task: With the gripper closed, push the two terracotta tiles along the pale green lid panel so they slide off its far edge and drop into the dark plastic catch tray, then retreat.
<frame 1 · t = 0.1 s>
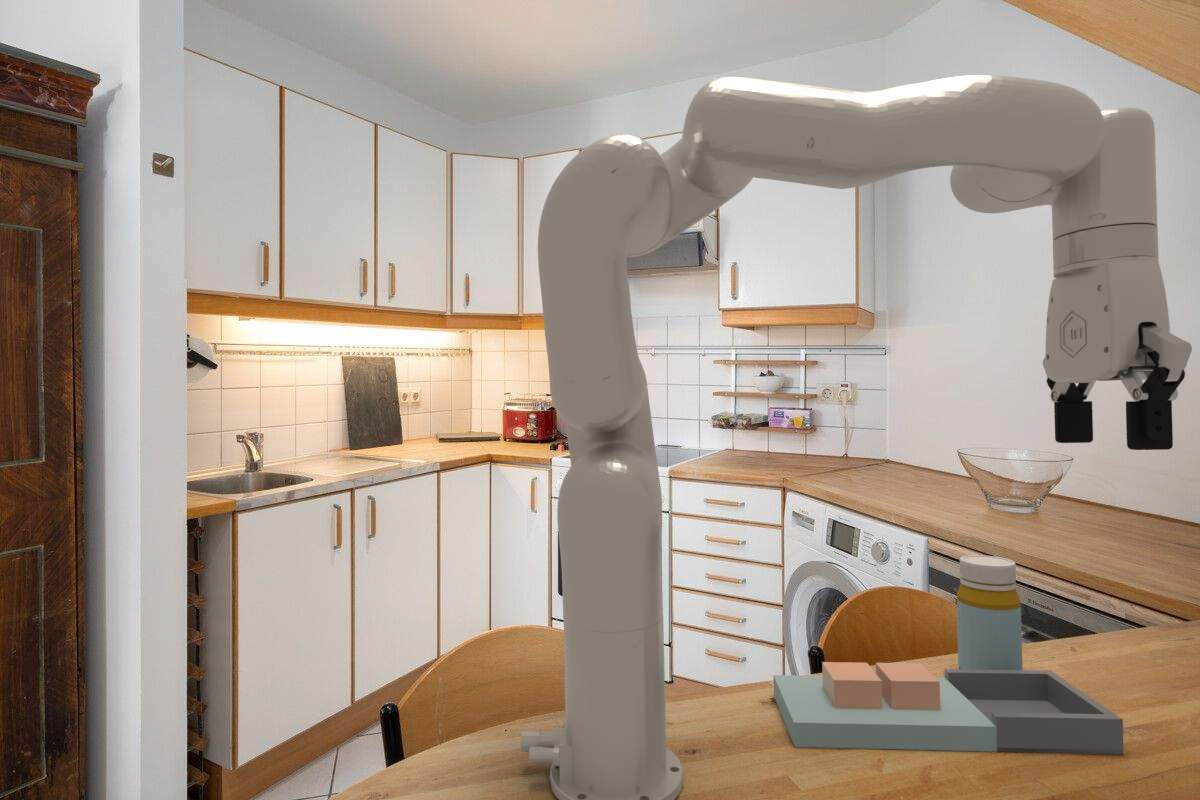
hand: (1108, 445, 59), 31 cm above the table, fingers open, 9 cm apart
tile a: (851, 698, 74), point 2 cm above the table, touching pale green lid panel
pale green lid panel: (875, 721, 73), on the table
bottle: (990, 680, 84), on the table
tile b: (907, 699, 73), point 2 cm above the table, touching pale green lid panel
tray: (1026, 724, 72), on the table
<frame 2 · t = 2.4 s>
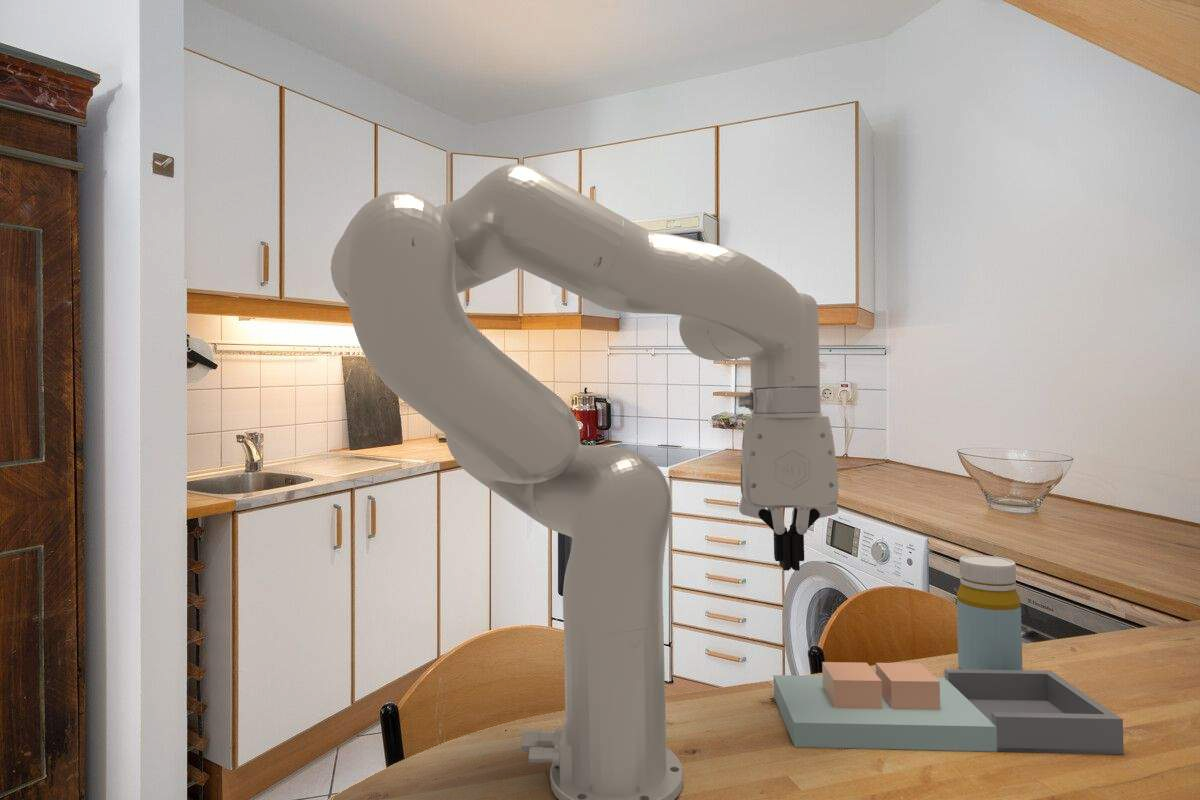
hand: (789, 567, 74), 17 cm above the table, fingers closed
nothing on the table moved.
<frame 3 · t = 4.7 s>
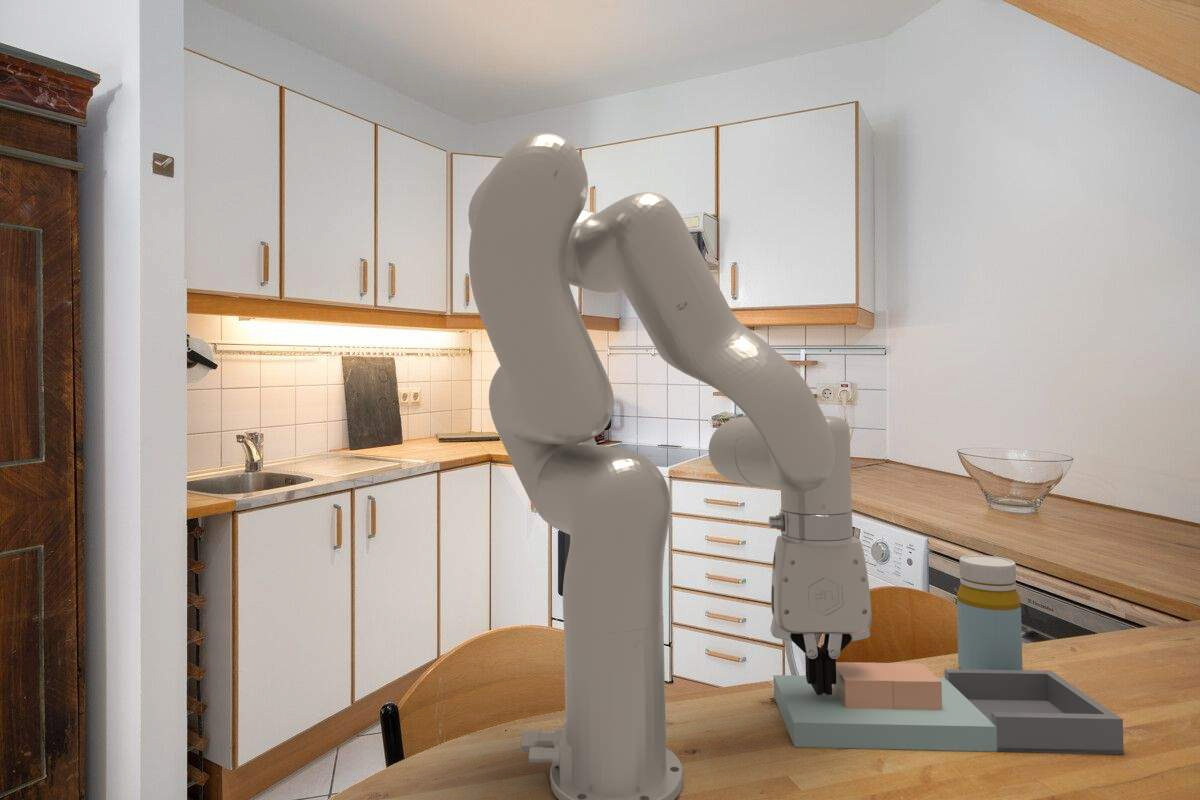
hand: (821, 689, 74), 3 cm above the table, fingers closed
tile a: (862, 698, 73), point 3 cm above the table, touching gripper
everything else where it was.
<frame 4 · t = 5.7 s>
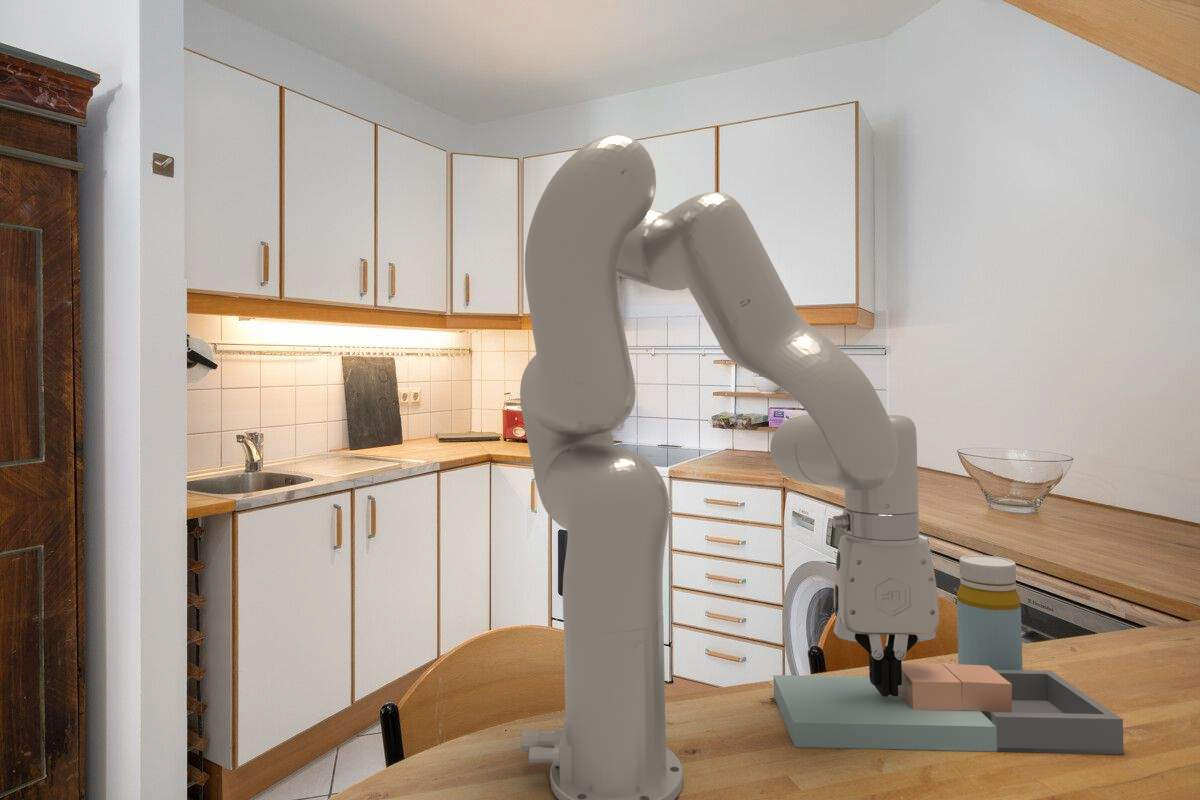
hand: (885, 690, 73), 3 cm above the table, fingers closed
tile a: (928, 699, 73), point 3 cm above the table, touching gripper, tile b
tile b: (975, 700, 72), point 2 cm above the table, touching pale green lid panel, tile a
everything else where it was.
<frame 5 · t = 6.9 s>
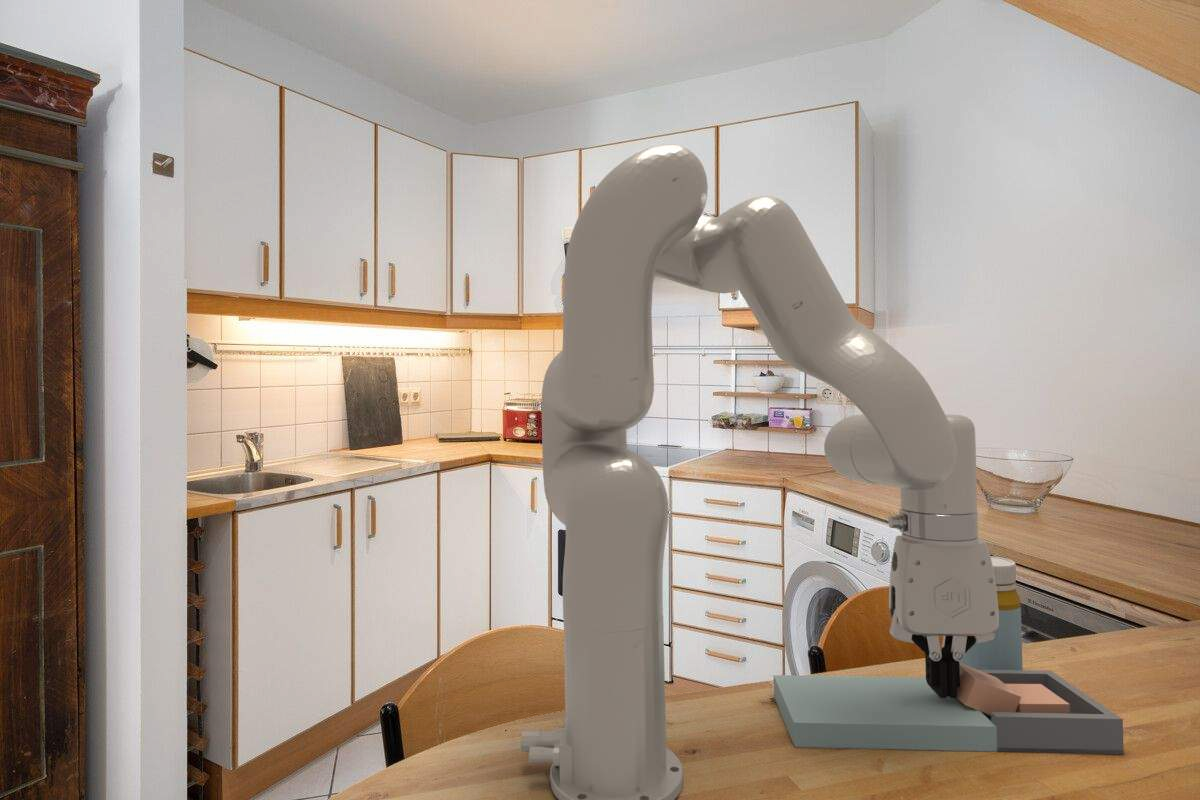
hand: (942, 692, 73), 3 cm above the table, fingers closed
tile a: (976, 703, 72), point 2 cm above the table, tilted 22°, touching pale green lid panel, gripper, tile b
tile b: (1031, 721, 72), resting on tray, touching tile a
everything else where it was.
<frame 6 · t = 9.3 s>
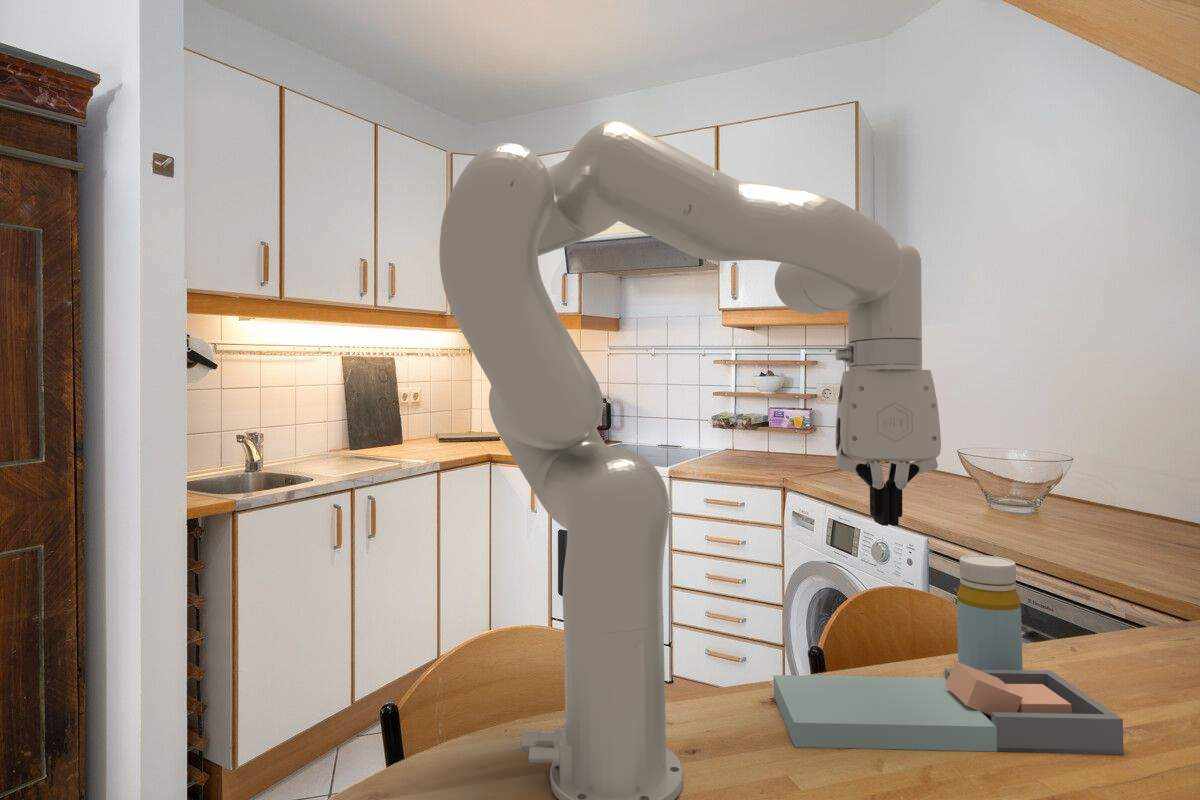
hand: (886, 523, 73), 22 cm above the table, fingers closed
tile a: (977, 703, 72), point 2 cm above the table, tilted 22°, touching pale green lid panel, tile b
everything else where it was.
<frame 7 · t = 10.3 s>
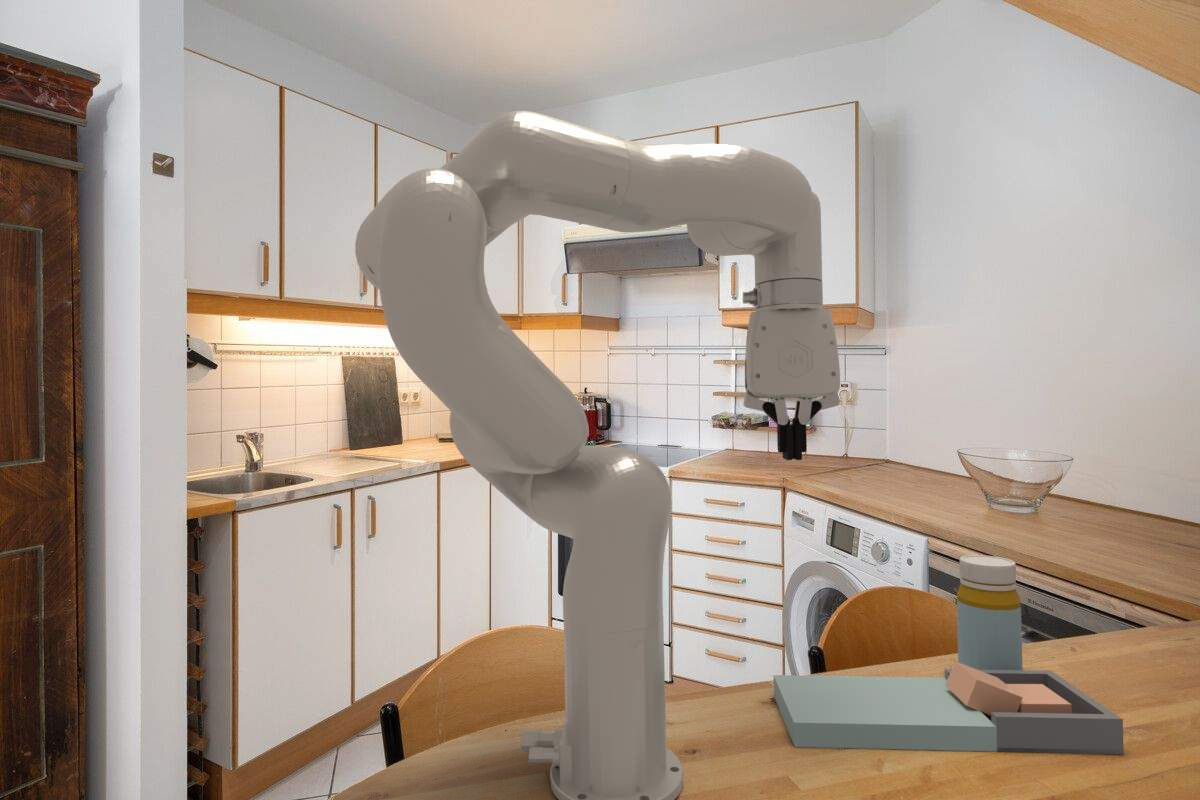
hand: (792, 458, 76), 29 cm above the table, fingers closed
nothing on the table moved.
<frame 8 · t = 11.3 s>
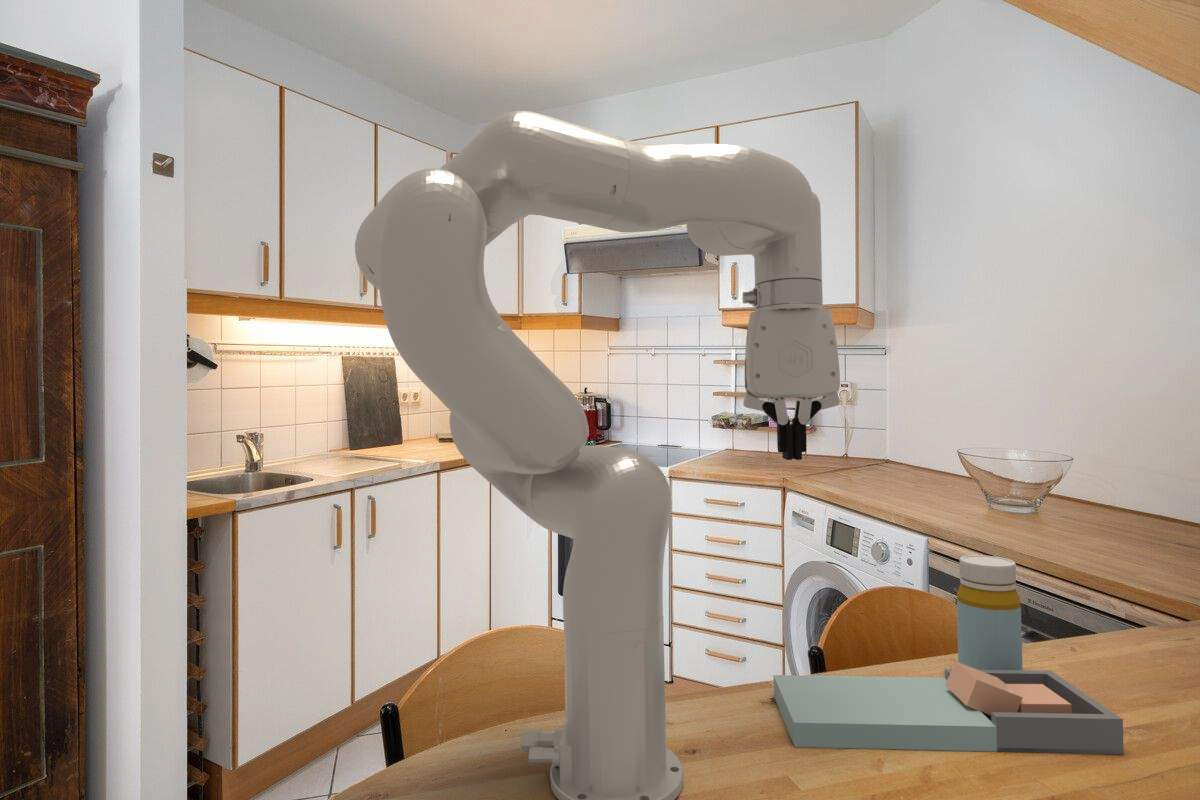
hand: (792, 458, 76), 29 cm above the table, fingers closed
nothing on the table moved.
at the end: tile a inside the target area on the tray (5.1 cm from its centre), point 2.1 cm above the tray's base; tile b inside the target area on the tray (0.6 cm from its centre), point 0.4 cm above the tray's base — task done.
